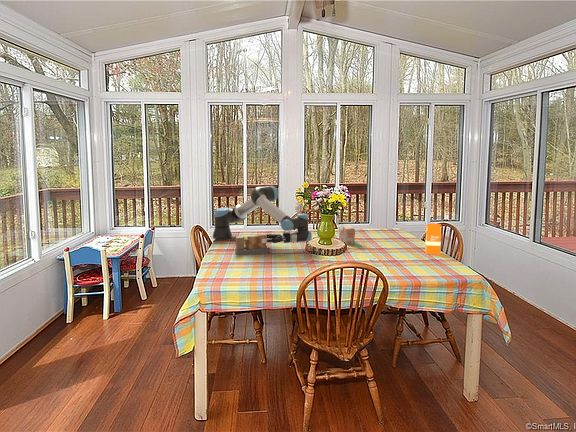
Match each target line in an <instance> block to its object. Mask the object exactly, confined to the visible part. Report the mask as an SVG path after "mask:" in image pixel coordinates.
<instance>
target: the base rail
mask: <svg viewBox="0 0 576 432" xmlns="http://www.w3.org/2000/svg"><path fill="white" fill-rule="evenodd" d="M270 248H271V247H268V245H267V244H266V248H258V249H248V248H247V249H246V246H245V237H244V235H243V236H242V235H241V236H235V248H234V249H235V254H236V255H237V256H244V255H245V256H246V255H257V254H259V255H260V254H270V253H271V249H270Z"/></svg>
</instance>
